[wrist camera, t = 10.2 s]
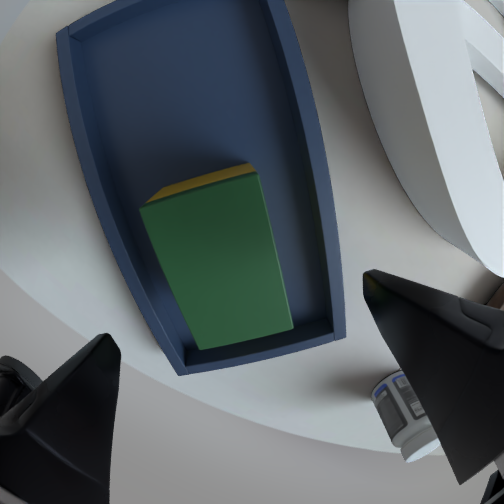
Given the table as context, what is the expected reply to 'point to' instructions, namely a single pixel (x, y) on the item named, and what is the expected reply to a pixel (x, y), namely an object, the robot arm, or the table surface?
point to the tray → (204, 150)
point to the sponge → (220, 256)
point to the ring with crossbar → (436, 112)
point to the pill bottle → (404, 417)
